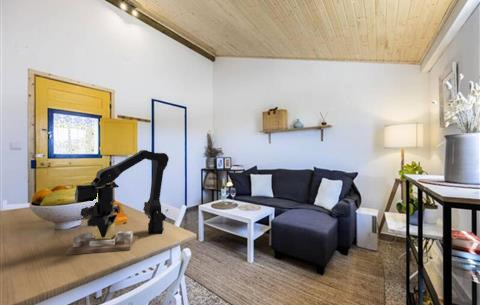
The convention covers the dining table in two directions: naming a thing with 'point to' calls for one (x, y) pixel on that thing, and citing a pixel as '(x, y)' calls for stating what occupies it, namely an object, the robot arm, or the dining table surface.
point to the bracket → (119, 215)
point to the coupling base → (102, 243)
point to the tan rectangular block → (109, 234)
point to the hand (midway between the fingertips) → (105, 235)
